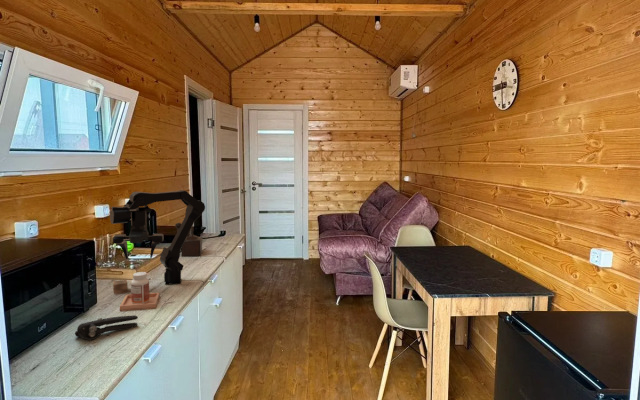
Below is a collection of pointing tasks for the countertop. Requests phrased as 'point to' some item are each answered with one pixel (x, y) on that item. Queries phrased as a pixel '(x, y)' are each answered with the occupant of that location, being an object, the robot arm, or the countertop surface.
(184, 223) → the robot arm
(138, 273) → the pill bottle
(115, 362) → the countertop surface
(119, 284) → the walnut block
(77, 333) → the can opener
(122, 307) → the tray
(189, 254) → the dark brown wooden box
